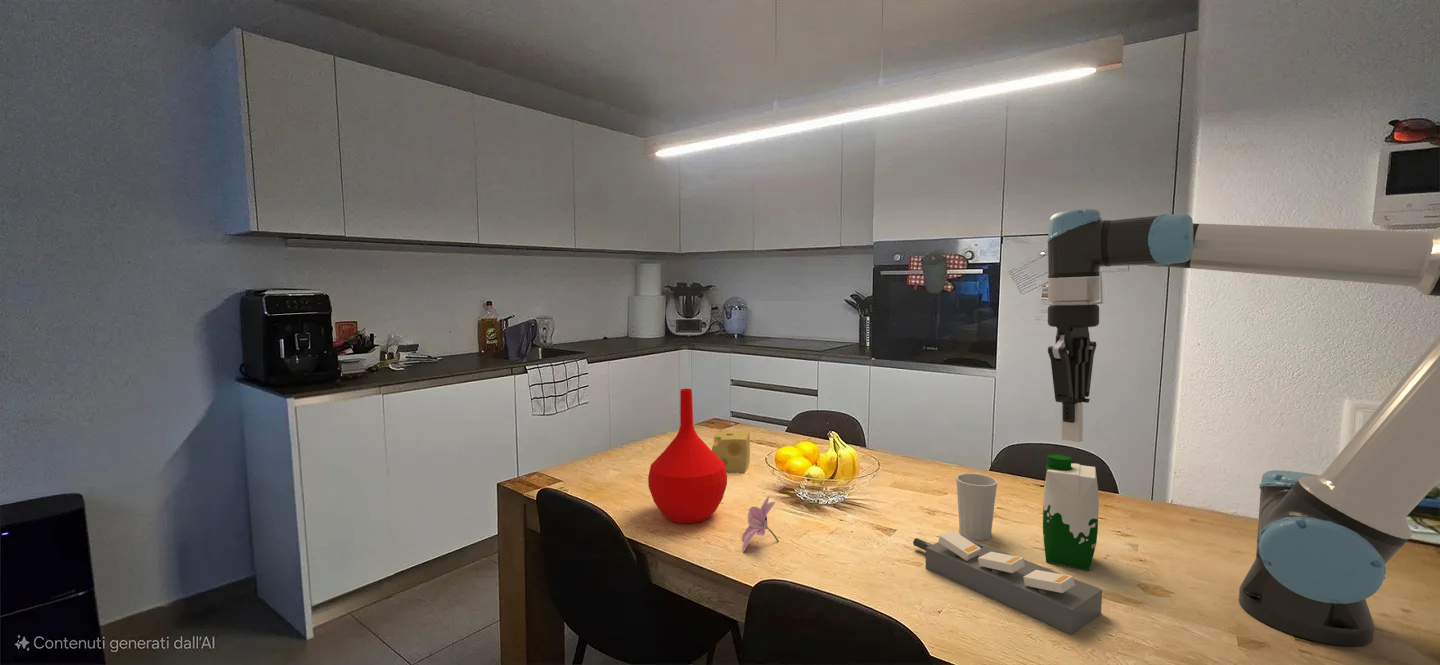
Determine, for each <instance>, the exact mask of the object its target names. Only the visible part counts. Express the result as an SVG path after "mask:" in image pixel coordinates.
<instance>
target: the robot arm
mask: <svg viewBox="0 0 1440 665" xmlns="http://www.w3.org/2000/svg"><path fill="white" fill-rule="evenodd" d="M1048 221H1049V223H1048V224H1049V225H1048V237H1047V239H1046V241H1047V259H1048V260H1047V262H1048V263H1047V264H1048V267H1047V270H1048V271H1047V272H1048V273H1047V278H1048V279H1047V282H1048V283H1047V284H1046V286H1045V289H1047V300H1048V301H1049V302H1050V303H1051V304H1050V305H1049V306H1048V307H1047V324H1048V326H1049V327H1053V328H1054V327H1056V329H1057V330H1056V335H1055V345H1054V346H1053V345H1049V346H1048V347H1047V353H1048V355H1049V359H1050V365H1051V366H1050V367H1051V376H1052V384H1053V393H1054V400H1055V402H1056V403H1061V440H1064V441H1070V442H1073V443H1074V442H1076V443H1081V442H1083V439H1084V438H1083V434H1084V433H1083V432H1084V431H1083V430H1084V429H1083V426H1084V424H1083V420H1084V419H1083V417H1084V416H1083V415H1084V411H1083V410H1084V409H1083V408H1084V403H1085V404H1086V403H1087V404H1089V402H1090V399H1091V398H1089V396H1090V392H1091V383H1092V376H1093V365H1094V358H1095V356H1094V355H1095V352H1096V348H1097V342H1096V341H1091V338H1090V331H1089V328H1095V327H1098V325H1099V324H1100V306H1099V305H1098V304H1096V302H1099V300H1100V298H1101V296H1100V295H1101V292H1100V291H1101V288H1100V287H1101V284H1100V283H1101V282H1100V279H1101V277H1100V268H1101V267H1119V266H1121V267H1124V266H1149V267H1155V268H1156V267H1157V268H1158V267H1159V268H1160V267H1163V268H1164V267H1167V268H1178V269H1195V270H1208V271H1218V272H1220V271H1221V272H1228V273H1229V272H1231V273H1242V274H1244V273H1245V274H1253V275H1254V274H1255V275H1256V274H1257V275H1269V276H1279V277H1294V278H1306V279H1317V280H1328V281H1331V280H1332V281H1342V282H1352V283H1353V282H1354V283H1364V284H1367V283H1368V284H1375V285H1376V284H1378V285H1389V286H1390V285H1391V286H1400V287H1401V286H1402V287H1403V286H1404V287H1413V288H1415V289H1416V290H1417V291H1418V292H1420V293H1421V294H1422V295H1424V296H1435V297H1440V226H1438V227H1436V228H1435V229H1433V230H1431V231H1407V230H1377V229H1353V228H1352V229H1351V228H1328V227H1327V228H1326V227H1302V226H1301V227H1300V226H1297V227H1296V226H1277V225H1274V226H1273V225H1271V226H1270V225H1249V224H1248V225H1247V224H1220V223H1219V224H1216V223H1194V221H1193V218H1192V216H1191V215H1190V214H1187V213H1181V214H1180V213H1178V214H1166V213H1163V214H1160V215H1151V216H1143V217H1141V216H1140V217H1133V218H1121V219H1113V220H1111V219H1110V220H1109V219H1108V220H1107V219H1103V220H1102V217H1101V212H1100V211H1099V210H1098V209H1090V208H1088V209H1086V208H1085V209H1075V210H1074V209H1073V210H1065V211H1060V212H1057V213H1056V212H1055V213H1053V214H1052V216H1050V218H1049V220H1048ZM1439 482H1440V334H1439V335H1438V336H1437V337H1436V338H1435V339H1434V341H1432V343H1431V344H1430V345H1429V347H1428V348H1426V350H1425V351H1424V353H1423V354H1422V355H1421V356H1420V357H1419V359H1417V361H1416V362H1415V363H1414V364H1413V366H1412V367H1411V368H1410V369H1409V370H1408V372H1407V373H1406V374H1405V375H1404V376H1403V378H1402V379H1401V380H1400V381H1399V382H1398V384H1397V385H1396V386H1395V387H1394V388H1393V389H1392V390H1391V392H1390V393H1389V394H1388V396H1387V397H1386V398H1385V399H1384V400H1383V401H1382V403H1381V404H1380V405H1379V406H1378V407H1377V408H1376V409H1375V411H1374V412H1373V413H1372V414H1371V415H1370V417H1368V419H1367V420H1366V421H1365V423H1364V424H1363V425H1362V426H1361V428H1359V430H1358V431H1357V432H1356V433H1355V435H1354V436H1352V438H1351V439H1350V440H1349V442H1348V443H1347V444H1346V446H1345V447H1343V449H1342V450H1341V452H1340V453H1339V454H1338V455H1337V456H1336V457H1335V458H1334V459H1333V461H1332V462H1331V463H1330V464H1329V466H1328V467H1327V468H1326V469H1325V470H1324V472H1323V473H1322V474H1312V473H1307V472H1299V471H1291V470H1274V469H1273V470H1268V471H1265V472H1263V474H1262V476H1261V483H1260V484H1259V486H1258V488H1259V489H1260V493H1259V494H1260V496H1259V509H1258V523H1257V525H1258V526H1257V538H1256V554H1255V555H1256V556H1255V560H1254V561H1253V563H1252V565H1251V567H1250V568H1249V570H1248V572H1247V574H1246V576H1245V578H1244V579H1243V581H1242V582H1241V584H1240V586H1239V592H1238V604H1239V605H1240V606H1241V608H1242V609H1243V610H1244V611H1245V612H1247V614H1249V615H1250V616H1252V617H1253V618H1255V619H1257V620H1258V621H1260V622H1262V623H1264V624H1266V625H1267V626H1270V627H1272V628H1274V629H1277V630H1279V631H1282V632H1285V633H1287V634H1290V635H1292V636H1296V637H1300V638H1302V639H1305V640H1310V641H1314V642H1318V643H1322V644H1327V645H1328V644H1329V645H1334V646H1341V647H1342V646H1343V647H1359V646H1365V645H1369V644H1371V641H1373V640H1374V632H1375V631H1374V630H1375V624H1374V620H1373V617H1372V614H1371V611H1370V607H1369V606H1368V603H1367V599H1369V598H1371V597H1372V596H1373V595H1374V594H1376V593H1377V592H1378V591H1379V590H1380V589H1381V587H1382V585H1383V582H1384V580H1385V579H1386V578H1385V577H1386V574H1387V568H1386V564H1387V563H1388V562H1389V561H1390V560H1391V559H1392V558H1393V556H1394V555H1396V553H1397V552H1398V551H1399V550H1400V549H1401V548H1402V547H1403V546H1404V545H1405V544H1406V543H1407V542H1408V541H1409V540H1410V539H1411V538H1412V536H1413V535H1412V534H1413V533H1412V532H1411V528H1410V527H1409V524H1408V522H1407V516H1408V515H1410V513H1411V512H1412V511H1413V510H1414V509H1415V508H1417V506H1418V504H1420V502H1422V500H1423V499H1424V498H1426V496H1427V495H1428V494H1429V493H1430V492H1431V490H1433V489H1434V488H1435V486H1436V485H1438V483H1439Z"/></svg>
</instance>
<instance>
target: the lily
mask: <svg viewBox="0 0 1440 665" xmlns="http://www.w3.org/2000/svg"><path fill="white" fill-rule="evenodd" d="M769 499H770V494H769V495H768V496H767V497H766V498H765V499H764V500H763V501H764V502H763V503H762V505H761V506H760V507H758V506H751V507H750V508H749V509H748V514H747V523H748V526H747V528H746V529H745V530H744V533H743V534H742V536H741V540H742V539H744V540H743V544H742V549H741V550H742V553H744V552H745V550H746V548H747V547H748V545H749V544H750V541H751V540H753V539H752V538H753V537H754V536H755V535H757V536H760V537H762V536H764V537H765V534H766V530H768V532H770V533H771V534H772V535H773V537H774V538H775V541H776V542H777V543H779V542H780V541H779V539H778V538H777V536H776V534H775V532H773V531H772V529H770V527H769V525H768V516H767V515H768V514H769V513H770V511H771V510H772V509H773V507H774V506H775V505H776V501H771V502H769Z"/></svg>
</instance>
